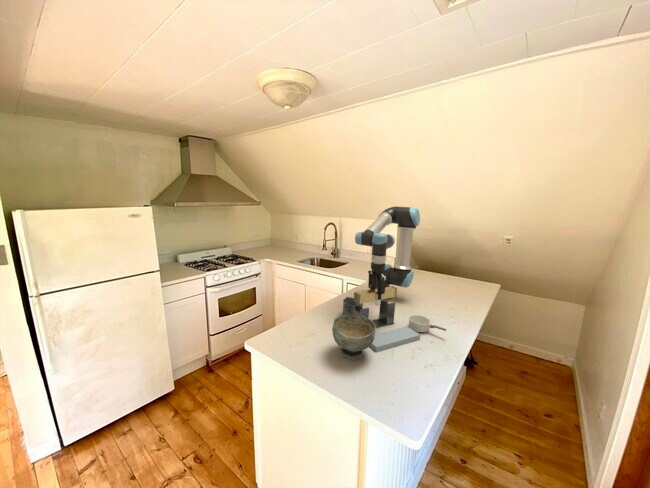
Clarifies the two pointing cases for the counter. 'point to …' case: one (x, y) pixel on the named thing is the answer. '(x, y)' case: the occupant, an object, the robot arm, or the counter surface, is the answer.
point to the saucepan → (421, 324)
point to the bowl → (353, 334)
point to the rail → (373, 295)
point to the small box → (348, 306)
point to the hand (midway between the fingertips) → (375, 302)
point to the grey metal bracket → (384, 314)
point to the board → (394, 338)
